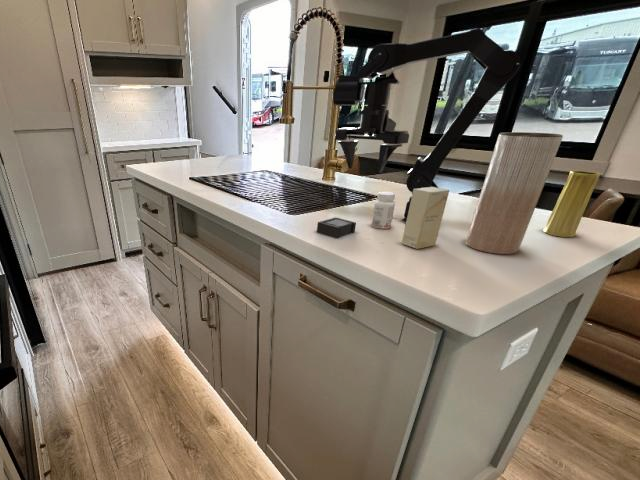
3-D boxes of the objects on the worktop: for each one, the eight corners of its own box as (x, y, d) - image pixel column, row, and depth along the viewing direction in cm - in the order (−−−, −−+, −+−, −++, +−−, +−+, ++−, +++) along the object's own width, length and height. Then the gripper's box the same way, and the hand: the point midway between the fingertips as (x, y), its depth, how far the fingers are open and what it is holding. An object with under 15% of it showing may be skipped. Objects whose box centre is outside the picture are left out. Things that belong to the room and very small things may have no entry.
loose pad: (350, 233, 88) (352, 223, 87) (339, 236, 85) (340, 226, 84) (335, 228, 91) (336, 219, 90) (323, 232, 88) (324, 222, 87)
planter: (507, 241, 82) (547, 132, 72) (526, 256, 74) (575, 136, 63) (459, 237, 85) (491, 131, 74) (472, 252, 76) (511, 135, 65)
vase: (570, 231, 89) (597, 171, 82) (578, 239, 84) (608, 175, 77) (540, 228, 91) (564, 169, 84) (546, 235, 86) (572, 173, 79)
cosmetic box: (416, 249, 78) (430, 192, 72) (400, 243, 81) (412, 188, 75) (436, 245, 80) (451, 189, 74) (419, 239, 84) (432, 185, 78)
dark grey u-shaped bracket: (354, 232, 88) (356, 222, 87) (337, 238, 84) (338, 227, 83) (334, 226, 93) (335, 217, 91) (316, 232, 89) (317, 222, 87)
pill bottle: (387, 224, 95) (394, 191, 91) (392, 229, 90) (399, 195, 86) (369, 223, 95) (374, 191, 91) (373, 228, 91) (379, 195, 87)
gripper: (426, 105, 89) (412, 171, 96) (361, 105, 101) (353, 164, 109) (403, 105, 82) (389, 176, 90) (337, 105, 95) (330, 167, 103)
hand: (364, 170), depth 98 cm, fingers open, 9 cm apart
